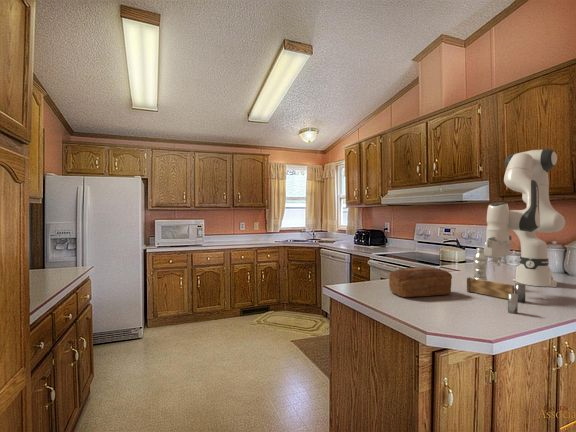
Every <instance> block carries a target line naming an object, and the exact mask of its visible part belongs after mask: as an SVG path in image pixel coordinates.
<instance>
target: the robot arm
mask: <svg viewBox="0 0 576 432" xmlns="http://www.w3.org/2000/svg"><path fill="white" fill-rule="evenodd" d="M557 161H558V155H557V153H556V151H555V150H554V149H552V148H543V149H531V150H527V151H522V152H518V153H512V154H509V155H507V156H506V158H505V160H504V168H505V173H504V176H503V177H504V178H503V183H504V185H505V186H506V187H507V188H508V189H510V190H511V191H514V192H517V193H522V194H521V195H522V196H521V198H522V199H521V200H522V201H523V202H524V203H525V204H526V208H524V209H509V205H508V202H491V203H489V204H488V206H487V212H486V223H487V225H486V229H485V230H486V234H485V240H486V241H485V243H484V247H483V248H484V256H485V257H487V258H488V259H491V260H492V262H493V265H492V266H493V267H496V268H498V267H500V266H501V262H502V258H503V257H508V256H510V253H511V252H510V251H511V241H512V238H513V237H512V235H511V234H510V231H513V232H514V233H515V235H516V236H517V238H518V239H519V243H520V257H519V265H517V266H516V272H515V278H512V281H514V282H516V283H518V284H525V286H527V285H528V286H535V287H545V288H546V287H549V288H550V287H551V288H557V286H558V281H557V280H555V279H554V277H553V275H552V274H553V273H552V270H551V268H550V266H549V264H550V263H549V258H548V244H547V243H546V241H545V240H542V239H541V238H540V237H538V236H537V234H536V233H546V234H547V233H550V234H551V233H556V232H560V231H562V230H563V229H564V228H565V225H566V219H565V217H564V215H562V214H561V213H560V212H558V211H557V210H556V209H555V208H554V207H553V205H552V204H551V201H550V189H549V188H550V184H549V183H550V179H549V172H550V171H551V170H552V169H554V168H555V167H556V165H557Z"/></svg>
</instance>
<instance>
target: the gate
mask: <svg viewBox="0 0 576 432" xmlns="http://www.w3.org/2000/svg"><path fill="white" fill-rule="evenodd" d="M466 292H469V293H470V292H471V293H476V294H482V295H487V296H491V297H495V298H502V299H507V300H508V293H513V294H515V284H514V285H513V284H508V283H503V282H502V283H501V282H495V281H490V280H487V281H485V280H479V279H473V278H472V277H466Z"/></svg>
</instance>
